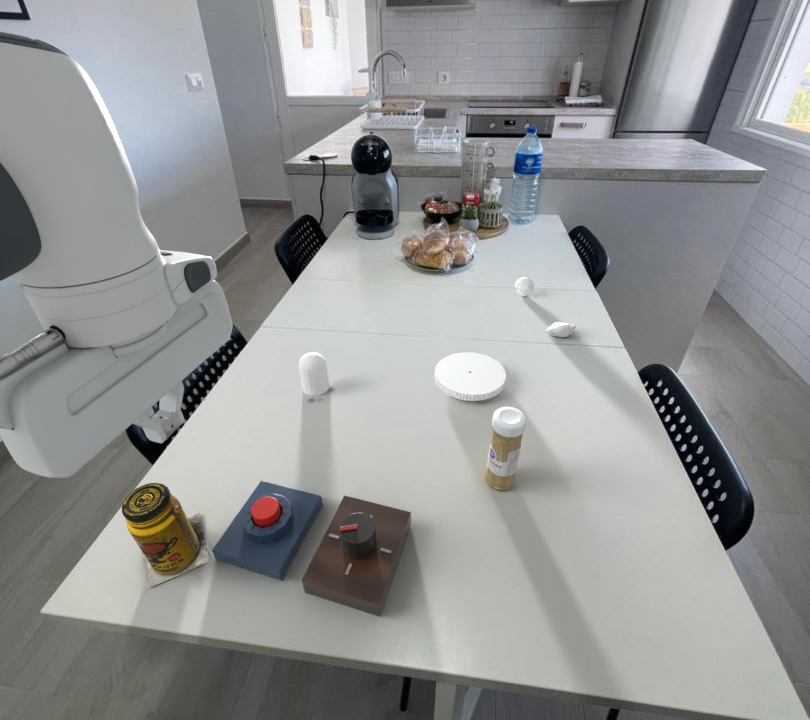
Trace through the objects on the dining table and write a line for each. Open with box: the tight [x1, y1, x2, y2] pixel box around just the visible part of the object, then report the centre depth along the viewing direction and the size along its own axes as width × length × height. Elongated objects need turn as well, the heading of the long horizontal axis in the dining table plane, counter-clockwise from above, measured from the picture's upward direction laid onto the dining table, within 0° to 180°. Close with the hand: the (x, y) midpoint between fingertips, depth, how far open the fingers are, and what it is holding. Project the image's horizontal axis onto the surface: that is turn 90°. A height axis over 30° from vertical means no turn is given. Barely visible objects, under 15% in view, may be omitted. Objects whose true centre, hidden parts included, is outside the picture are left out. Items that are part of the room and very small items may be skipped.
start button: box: [251, 497, 281, 527], centre depth 60 cm, size 4×4×2 cm
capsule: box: [298, 351, 331, 397], centre depth 87 cm, size 5×5×8 cm
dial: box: [340, 513, 377, 559], centre depth 57 cm, size 4×4×4 cm
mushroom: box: [514, 276, 535, 298], centre depth 118 cm, size 5×5×5 cm
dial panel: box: [301, 494, 412, 617], centre depth 59 cm, size 13×10×3 cm
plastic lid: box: [434, 351, 507, 402], centre depth 89 cm, size 14×14×2 cm
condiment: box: [121, 482, 210, 588], centre depth 57 cm, size 7×8×12 cm
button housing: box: [211, 480, 324, 582], centre depth 62 cm, size 12×10×4 cm
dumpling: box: [545, 321, 578, 338], centre depth 102 cm, size 7×5×4 cm
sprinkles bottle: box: [484, 406, 527, 491], centre depth 66 cm, size 5×5×14 cm
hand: (167, 431), depth 41 cm, fingers closed
